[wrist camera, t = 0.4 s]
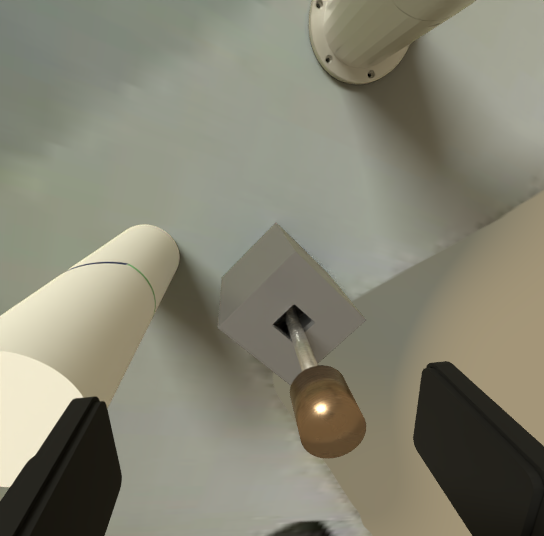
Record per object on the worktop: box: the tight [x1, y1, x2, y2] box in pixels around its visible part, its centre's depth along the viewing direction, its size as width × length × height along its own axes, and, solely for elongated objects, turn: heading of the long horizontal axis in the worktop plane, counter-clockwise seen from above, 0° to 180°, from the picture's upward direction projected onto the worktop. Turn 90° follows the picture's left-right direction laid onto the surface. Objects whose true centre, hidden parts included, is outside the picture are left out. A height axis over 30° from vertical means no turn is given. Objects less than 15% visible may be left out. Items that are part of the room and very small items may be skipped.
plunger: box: [274, 304, 366, 458], centre depth 30 cm, size 8×8×20 cm
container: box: [0, 225, 180, 487], centre depth 31 cm, size 9×9×30 cm
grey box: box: [217, 223, 366, 385], centre depth 41 cm, size 11×11×15 cm
